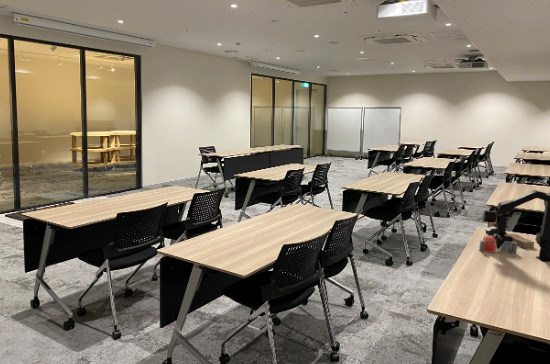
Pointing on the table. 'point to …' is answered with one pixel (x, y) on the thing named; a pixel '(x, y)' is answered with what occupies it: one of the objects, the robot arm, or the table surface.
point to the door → (506, 246)
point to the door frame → (482, 243)
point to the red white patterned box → (491, 244)
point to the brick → (522, 241)
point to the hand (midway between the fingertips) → (498, 248)
